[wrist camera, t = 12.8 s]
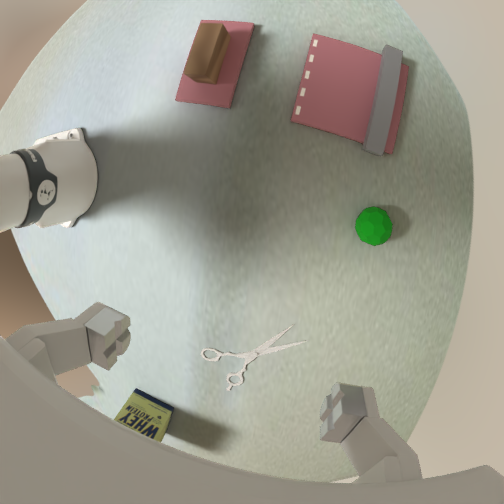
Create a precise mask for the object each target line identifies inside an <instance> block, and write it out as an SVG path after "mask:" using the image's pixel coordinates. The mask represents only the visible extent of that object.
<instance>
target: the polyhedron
mask: <svg viewBox="0 0 504 504" xmlns="http://www.w3.org/2000/svg"><path fill="white" fill-rule="evenodd" d="M392 225H393V224H392V222H391V220H390V219H389V217H388V215H387V213H386V211H384V210H382V209H380V208H377V207H369V208H366V209H365V210H363V211H362V213H361V214H360V215H359V216H358V218H357V219H356V226H355V229H356V231H357V234H358V236H359V237H360V239H361V240H362V241H364V242H366V243H368V244H371V245H373V246H376V245H380V244H383V243H385V242H386V241H387V240H388V238H389V237H390V236H391V233H392Z"/></svg>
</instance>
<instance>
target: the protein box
mask: <svg viewBox="0 0 504 504" xmlns="http://www.w3.org/2000/svg"><path fill="white" fill-rule="evenodd" d="M173 409H174V408H173V407H171V406H169V405H167V404H165V403H163V402H161V401H159V400H157V399H155V398H153V397H151V396H149V395H147V394H145V393H144V392H142V391H140V390H138V389H135V390H134V392H133V393H132V394H131V396H130V397H129V399H128V400H127V402H126V403H125V405H124V406H123V407H122V409H121V410H120V412H119V413H118V414H117V416H116V417H115V419H114V420H115V421H117V422H119V423H120V424H122V425H124V426H126V427H128V428H130V429H132V430H134V431H136V432H138V433H141V434H143V435H145V436H147V437H149V438H151V439H154V440H156V441H158V442H161V441H162V439H163V437H164V435H165V433H166V430H167V427H168V425H169V422H170V418H171V415H172V412H173Z"/></svg>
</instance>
